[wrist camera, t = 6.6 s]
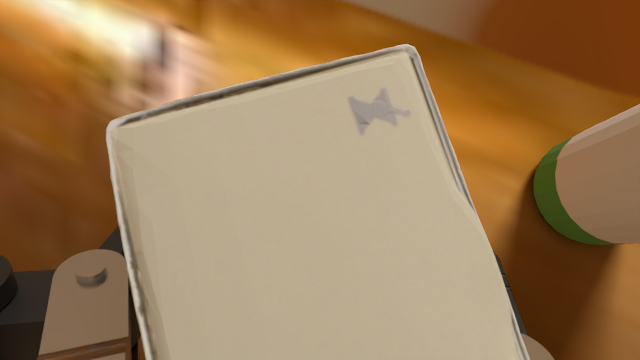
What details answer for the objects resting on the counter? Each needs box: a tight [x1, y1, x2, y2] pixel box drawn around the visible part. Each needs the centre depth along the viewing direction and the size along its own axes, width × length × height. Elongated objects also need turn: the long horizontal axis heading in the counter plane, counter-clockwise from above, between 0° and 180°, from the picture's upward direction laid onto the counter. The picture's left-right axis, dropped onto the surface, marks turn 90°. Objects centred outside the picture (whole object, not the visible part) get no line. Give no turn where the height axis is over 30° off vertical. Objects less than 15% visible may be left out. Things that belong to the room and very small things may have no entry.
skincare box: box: [106, 44, 530, 360], centre depth 11 cm, size 6×4×12 cm
